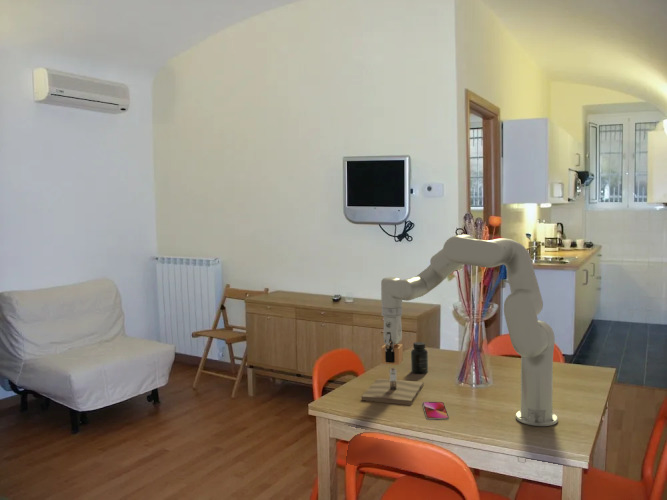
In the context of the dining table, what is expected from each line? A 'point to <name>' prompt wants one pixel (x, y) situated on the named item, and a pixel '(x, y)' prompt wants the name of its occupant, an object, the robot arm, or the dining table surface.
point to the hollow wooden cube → (397, 352)
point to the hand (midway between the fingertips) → (392, 359)
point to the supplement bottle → (419, 358)
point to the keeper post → (393, 379)
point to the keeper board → (393, 392)
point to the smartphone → (435, 411)
